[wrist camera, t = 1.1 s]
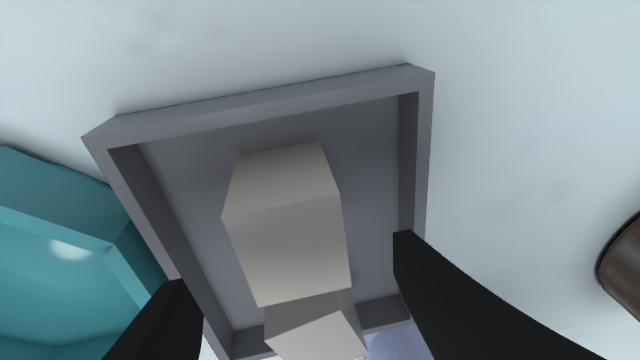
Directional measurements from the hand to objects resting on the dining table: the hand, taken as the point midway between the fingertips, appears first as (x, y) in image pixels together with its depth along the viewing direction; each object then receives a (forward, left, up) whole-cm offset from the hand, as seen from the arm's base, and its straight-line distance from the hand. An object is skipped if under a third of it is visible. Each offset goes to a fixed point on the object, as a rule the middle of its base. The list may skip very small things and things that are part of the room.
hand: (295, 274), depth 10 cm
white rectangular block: (0, 0, -6) cm, 6 cm away
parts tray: (-3, 0, -6) cm, 7 cm away
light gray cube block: (-7, 0, -6) cm, 9 cm away
